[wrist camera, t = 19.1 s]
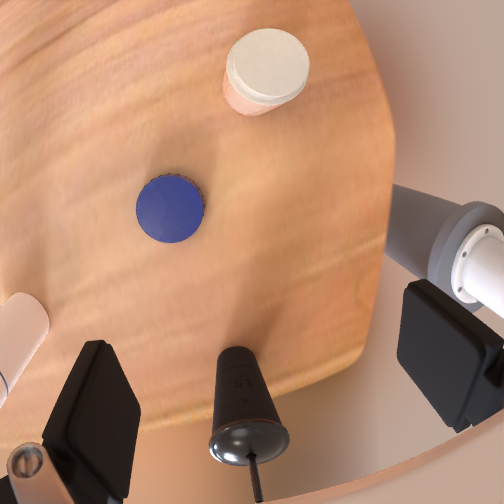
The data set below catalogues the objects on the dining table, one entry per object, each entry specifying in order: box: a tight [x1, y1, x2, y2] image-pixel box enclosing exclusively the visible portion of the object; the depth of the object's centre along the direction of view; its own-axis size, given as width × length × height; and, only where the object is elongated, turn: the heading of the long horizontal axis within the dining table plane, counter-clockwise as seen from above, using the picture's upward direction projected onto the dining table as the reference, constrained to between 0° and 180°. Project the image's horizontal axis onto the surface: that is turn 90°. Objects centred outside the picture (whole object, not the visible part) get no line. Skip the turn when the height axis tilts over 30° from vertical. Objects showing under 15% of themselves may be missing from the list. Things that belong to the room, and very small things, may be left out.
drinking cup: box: [209, 347, 290, 503], centre depth 29 cm, size 8×8×20 cm
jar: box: [222, 28, 310, 116], centre depth 23 cm, size 6×6×11 cm
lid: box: [136, 173, 204, 243], centre depth 30 cm, size 7×7×2 cm
